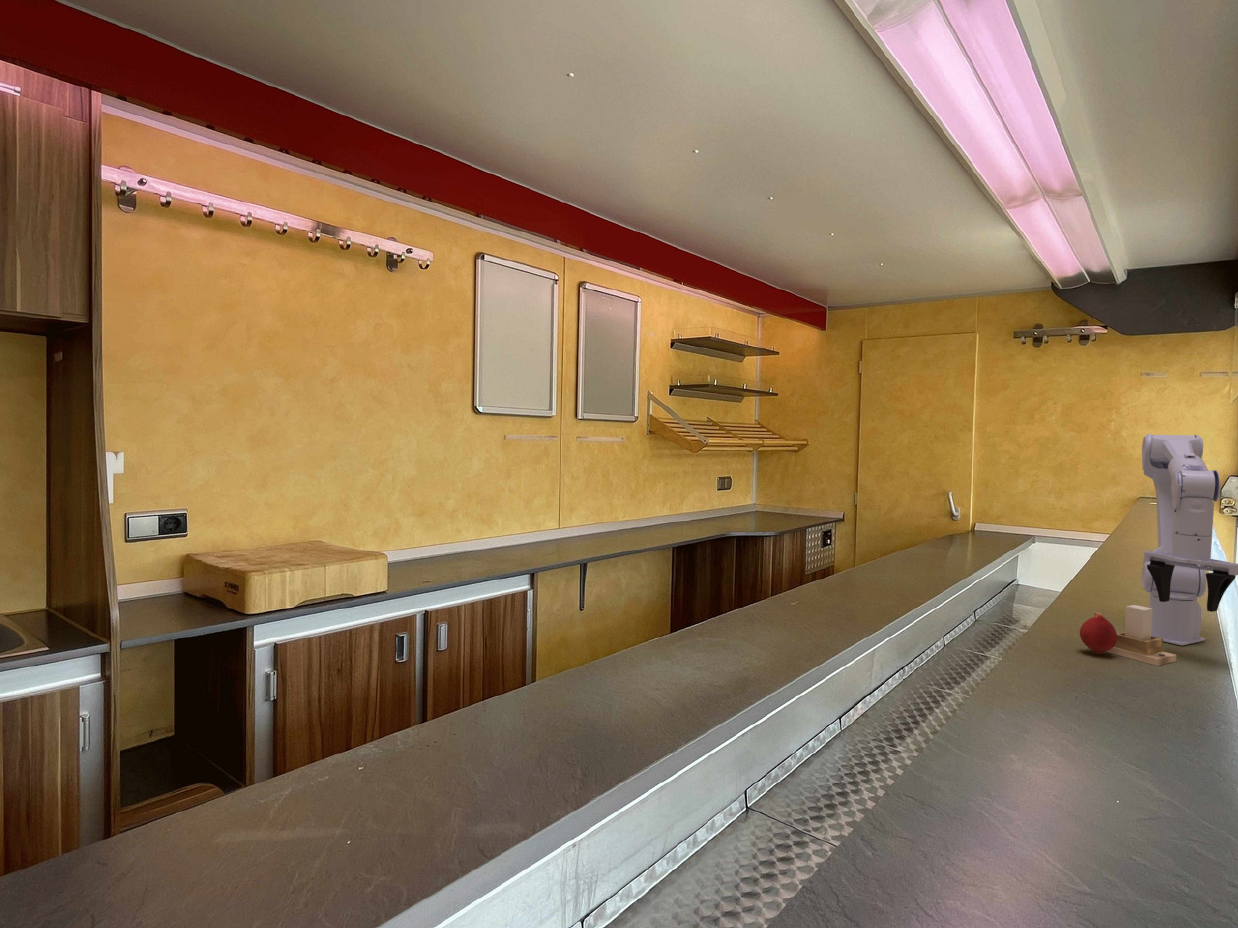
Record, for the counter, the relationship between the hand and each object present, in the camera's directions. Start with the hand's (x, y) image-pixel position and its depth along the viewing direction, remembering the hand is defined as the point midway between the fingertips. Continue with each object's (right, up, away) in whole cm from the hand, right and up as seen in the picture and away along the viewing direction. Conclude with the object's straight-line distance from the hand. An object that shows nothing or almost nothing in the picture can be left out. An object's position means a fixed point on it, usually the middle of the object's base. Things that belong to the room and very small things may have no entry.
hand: (1187, 605), depth 131 cm
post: (-9, -8, +1) cm, 12 cm away
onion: (-16, -10, +2) cm, 19 cm away
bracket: (-9, -10, +1) cm, 13 cm away
